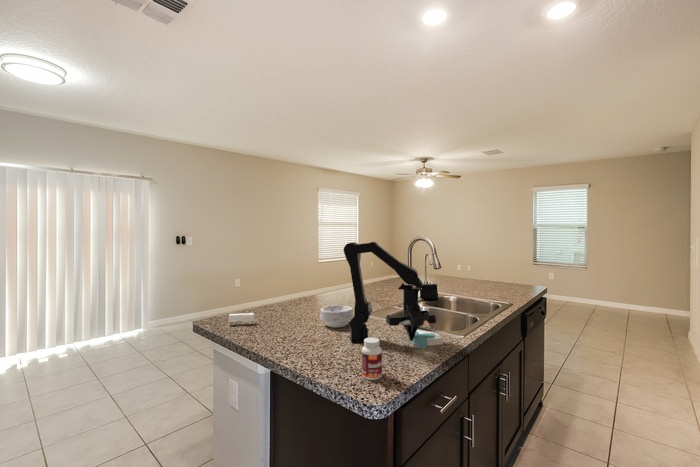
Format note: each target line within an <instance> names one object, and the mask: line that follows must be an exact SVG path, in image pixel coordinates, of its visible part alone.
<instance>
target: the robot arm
mask: <svg viewBox="0 0 700 467" xmlns="http://www.w3.org/2000/svg"><path fill="white" fill-rule="evenodd" d="M343 253H344V256H345V259H346V261H347V263H348V266H349V269H350V275H351V282H352V287H353V294H354V299H355V300H354V309H353V310H354V312H353V314H354V315H353V318H352V319H351V320H350V321H349V322H348V325H349V329H350V330H349V340H350V342H351V344H357V343H364V339H366V338H369V329H368V327H367V324H366V323H367V322H368V320H369V319H370V317H371V316H372V313H373V308H372V301H371V300H370V301H368V300H367V298H366V292H365V287H364V281H363V275H362V269H361V256H362V254H367V253H372V254H373V255H375V257H377V258H378V259H380V260H381V261H382V262H383V263H385V264H387V266H389V268H391V269H392V270H394V271H395V272H396V274H397V275H398V276H399V277H400V279H401V280H402V281H403V282H402V283H401V284H400V285H399V286H398V287H397V288H398V290H400V291H401V290H402V293H403V295H402V297H403V299H402V300H403V301H402V311H403V312H402V316H398V315H397V314H387V315H386V317H385V322H386V324H388V325H389V326H390V327H391V326H392V327H393V326H399V325H400V324H401V326H402V327H403V326H404V327H403V328H404V329H405V332H406V334H407V337H408V340H409V342H412V341H413V339H414V336H415V333H416V331H417V330H418V329H419V328H420V327H422V326H423V325H424V323H425V322H427V323H428V324H437V317H436V315H435V314H434V313H432V312H429V311H428V310H421V306H420V304H419V299H420V300H421V301H422V302H426V303H427V302H429V303H431V302H432V303H438V302H439V292H438V283H423V282H422V280H421V278H420V277H419V273H418V271H417V270H416V269H415V268H414V267H413V266H410V265H407V264H405V263H403V262H402V261H399V260H398V259H397V258H396V257H395V256H393V255H392V254H390V253H389V252H388V251H387V250H386V249H384V248H383V247H382V246H380V245H379V244H378V242H376V241H370V242H367V243H358V242H355V241H353V242H348V243H347V244H345V245H344V247H343ZM403 316H404V317H403ZM417 332H418V331H417Z"/></svg>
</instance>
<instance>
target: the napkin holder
mask: <svg viewBox="0 0 700 467" xmlns="http://www.w3.org/2000/svg"><path fill="white" fill-rule="evenodd" d="M236 321H244V322H251V321H254V322H255V313H254V312H253V313H251V312H250V313H244V312H243V313H242V312H241V313H229V315H228V323H229V322H236Z"/></svg>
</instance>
